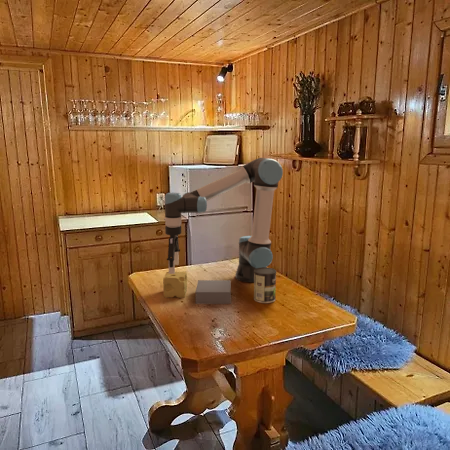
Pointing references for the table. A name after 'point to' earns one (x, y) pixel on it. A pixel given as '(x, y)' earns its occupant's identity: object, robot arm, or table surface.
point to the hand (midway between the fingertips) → (173, 269)
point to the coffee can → (264, 285)
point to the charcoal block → (213, 292)
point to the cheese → (175, 284)
